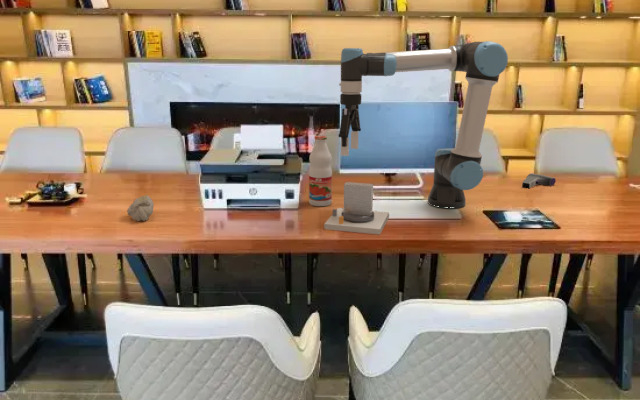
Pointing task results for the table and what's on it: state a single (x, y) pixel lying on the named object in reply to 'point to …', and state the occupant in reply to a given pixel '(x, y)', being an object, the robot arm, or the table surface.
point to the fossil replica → (141, 208)
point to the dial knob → (358, 202)
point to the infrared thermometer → (537, 180)
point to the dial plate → (357, 223)
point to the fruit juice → (320, 173)
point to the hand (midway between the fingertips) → (349, 152)
